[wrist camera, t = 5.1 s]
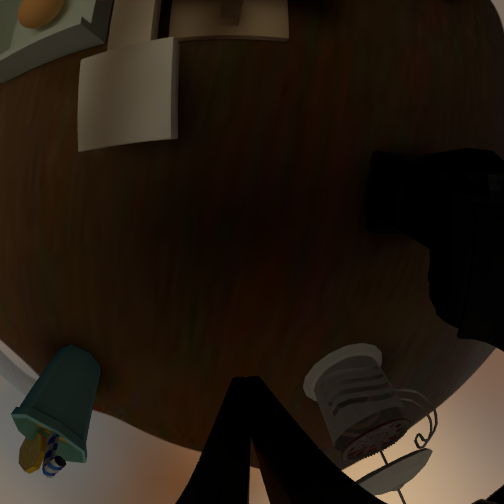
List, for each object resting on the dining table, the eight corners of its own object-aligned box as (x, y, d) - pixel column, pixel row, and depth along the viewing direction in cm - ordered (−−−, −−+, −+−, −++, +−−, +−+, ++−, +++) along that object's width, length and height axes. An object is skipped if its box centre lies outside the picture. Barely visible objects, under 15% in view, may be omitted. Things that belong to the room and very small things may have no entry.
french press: (300, 358, 25) (383, 598, 2) (400, 326, 26) (525, 503, 3) (304, 410, 29) (360, 586, 6) (388, 382, 30) (469, 529, 7)
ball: (15, -6, 6) (43, 4, 10) (3, 32, 7) (35, 39, 11) (49, -30, 6) (77, -15, 9) (35, 9, 7) (68, 21, 11)
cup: (79, 298, 20) (-1, 435, 7) (145, 350, 23) (115, 500, 9) (38, 364, 23) (-8, 460, 9) (88, 401, 26) (61, 501, 12)
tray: (124, -44, 9) (109, -70, 5) (105, 43, 13) (80, 23, 9) (23, -3, 8) (-1, -15, 4) (3, 83, 12) (-29, 79, 8)
